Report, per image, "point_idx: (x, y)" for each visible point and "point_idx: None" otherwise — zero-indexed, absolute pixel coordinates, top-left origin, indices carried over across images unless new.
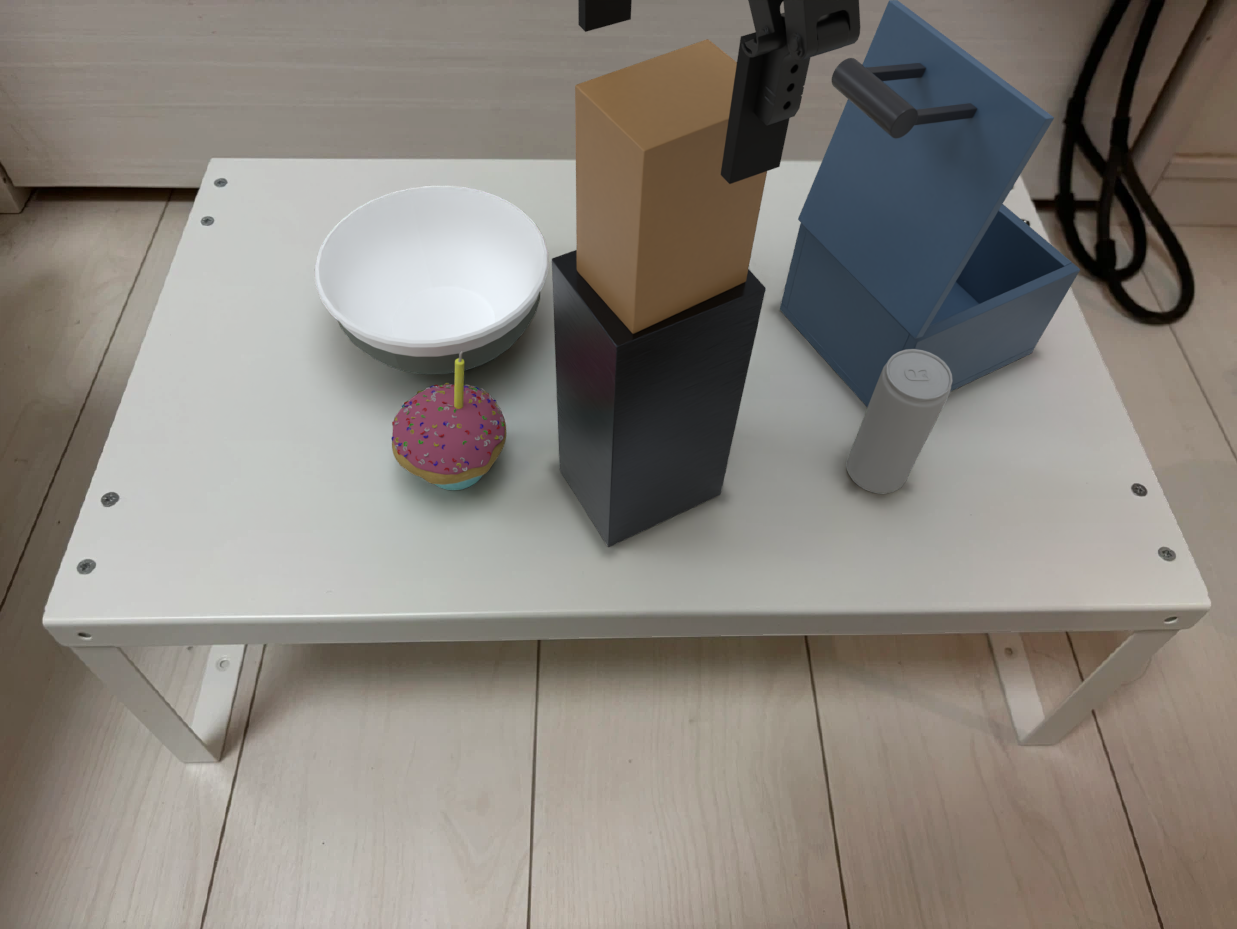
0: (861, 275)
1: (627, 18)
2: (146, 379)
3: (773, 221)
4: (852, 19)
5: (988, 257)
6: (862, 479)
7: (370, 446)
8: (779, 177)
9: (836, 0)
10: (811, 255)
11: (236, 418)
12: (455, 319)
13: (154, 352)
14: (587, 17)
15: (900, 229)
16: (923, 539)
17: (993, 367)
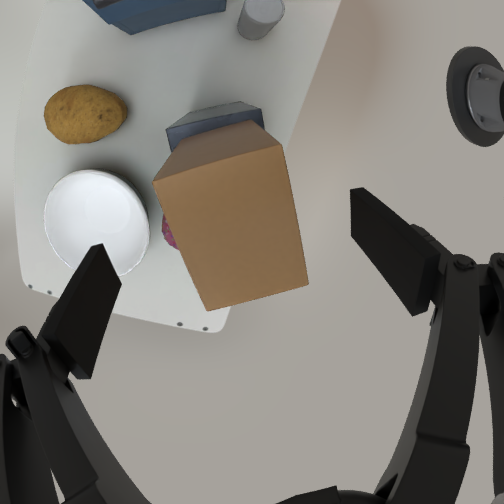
0: (171, 2)
1: (103, 247)
2: (127, 314)
3: (69, 27)
4: None
5: None
6: (261, 37)
7: (170, 246)
8: (42, 22)
9: None
10: (129, 19)
11: (148, 290)
12: (105, 204)
13: (114, 312)
14: (117, 290)
15: None
16: (295, 26)
17: None
